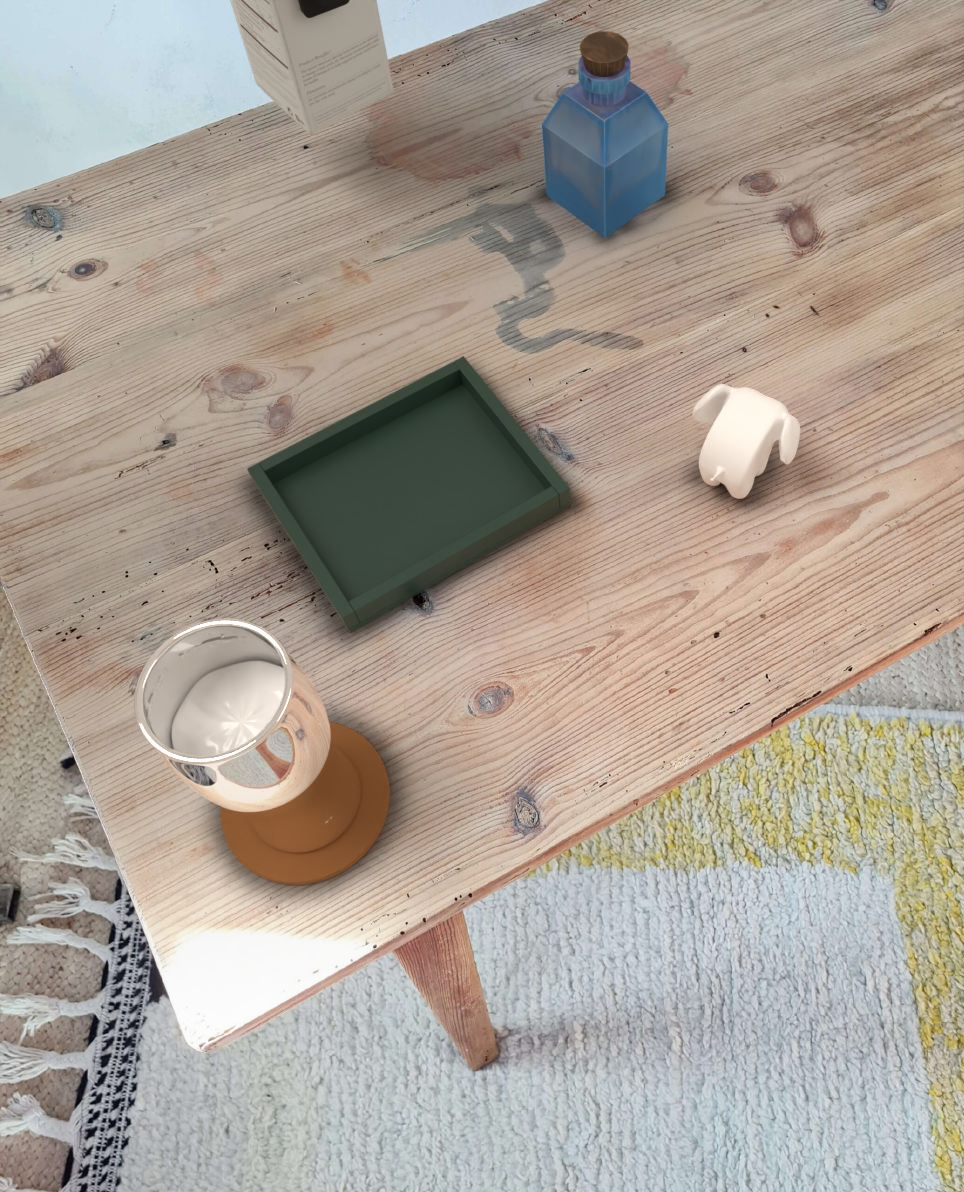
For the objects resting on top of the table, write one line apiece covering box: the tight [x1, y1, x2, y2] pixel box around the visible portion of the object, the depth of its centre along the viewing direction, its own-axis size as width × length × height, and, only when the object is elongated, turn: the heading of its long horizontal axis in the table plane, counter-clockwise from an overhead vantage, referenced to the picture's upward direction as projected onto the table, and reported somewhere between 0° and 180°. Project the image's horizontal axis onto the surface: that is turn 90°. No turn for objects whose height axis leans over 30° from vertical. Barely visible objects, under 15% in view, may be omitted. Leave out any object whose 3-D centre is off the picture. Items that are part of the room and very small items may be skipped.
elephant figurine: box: [691, 383, 801, 500], centre depth 66 cm, size 7×8×6 cm
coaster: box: [220, 721, 391, 886], centre depth 58 cm, size 9×9×1 cm
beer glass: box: [133, 617, 361, 853], centre depth 51 cm, size 7×7×15 cm
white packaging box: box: [229, 0, 395, 136], centre depth 71 cm, size 7×7×13 cm
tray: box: [246, 355, 572, 634], centre depth 67 cm, size 16×13×2 cm
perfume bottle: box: [541, 30, 669, 239], centre depth 74 cm, size 6×6×12 cm
